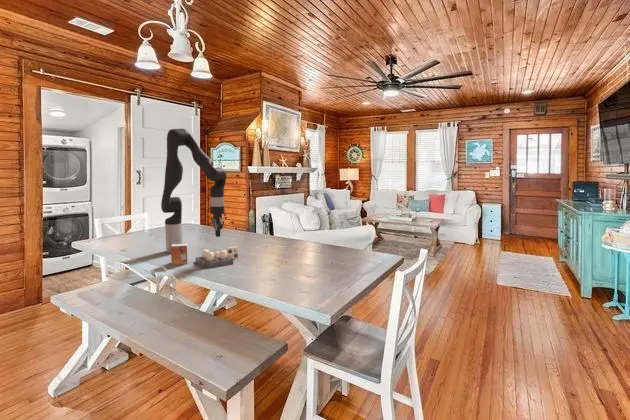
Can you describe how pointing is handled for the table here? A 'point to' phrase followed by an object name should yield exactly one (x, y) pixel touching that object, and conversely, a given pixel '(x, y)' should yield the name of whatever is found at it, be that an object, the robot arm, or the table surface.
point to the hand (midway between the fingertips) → (217, 236)
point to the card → (233, 252)
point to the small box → (179, 254)
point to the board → (215, 263)
